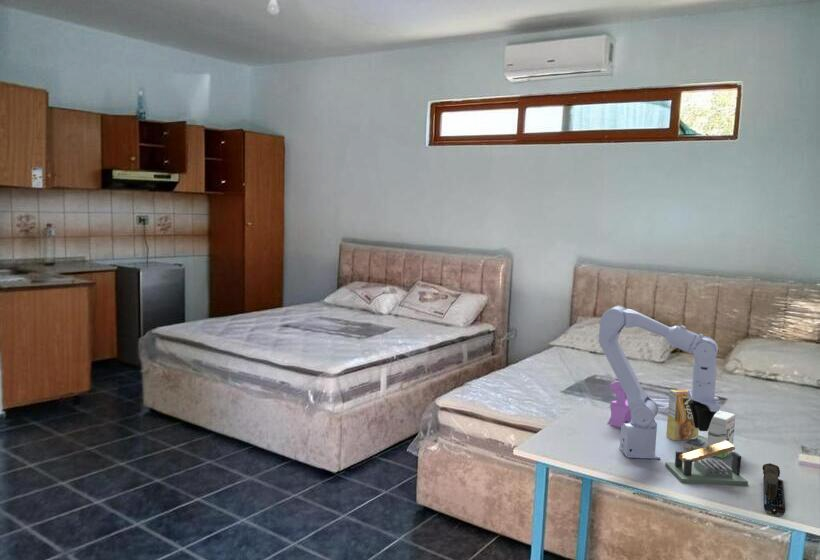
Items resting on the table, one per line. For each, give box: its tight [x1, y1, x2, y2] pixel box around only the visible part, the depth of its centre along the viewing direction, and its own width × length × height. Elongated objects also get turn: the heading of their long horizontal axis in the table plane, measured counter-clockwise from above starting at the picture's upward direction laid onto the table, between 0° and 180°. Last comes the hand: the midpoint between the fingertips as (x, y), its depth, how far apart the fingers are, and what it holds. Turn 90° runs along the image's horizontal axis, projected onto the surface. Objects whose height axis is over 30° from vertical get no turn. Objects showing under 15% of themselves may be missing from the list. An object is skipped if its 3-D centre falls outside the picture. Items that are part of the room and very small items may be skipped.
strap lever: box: [678, 441, 736, 463], centre depth 161 cm, size 14×4×1 cm, turn 88°
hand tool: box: [762, 462, 781, 501], centre depth 154 cm, size 19×4×5 cm, turn 147°
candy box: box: [665, 388, 700, 441], centre depth 190 cm, size 9×4×15 cm, turn 103°
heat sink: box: [674, 450, 742, 478], centre depth 162 cm, size 15×7×5 cm, turn 88°
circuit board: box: [664, 461, 749, 486], centre depth 162 cm, size 17×11×1 cm, turn 88°
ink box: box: [706, 409, 736, 459], centre depth 178 cm, size 9×5×12 cm, turn 135°
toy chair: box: [606, 380, 631, 429], centre depth 202 cm, size 8×9×15 cm
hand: (701, 429), depth 168 cm, fingers open, 2 cm apart
